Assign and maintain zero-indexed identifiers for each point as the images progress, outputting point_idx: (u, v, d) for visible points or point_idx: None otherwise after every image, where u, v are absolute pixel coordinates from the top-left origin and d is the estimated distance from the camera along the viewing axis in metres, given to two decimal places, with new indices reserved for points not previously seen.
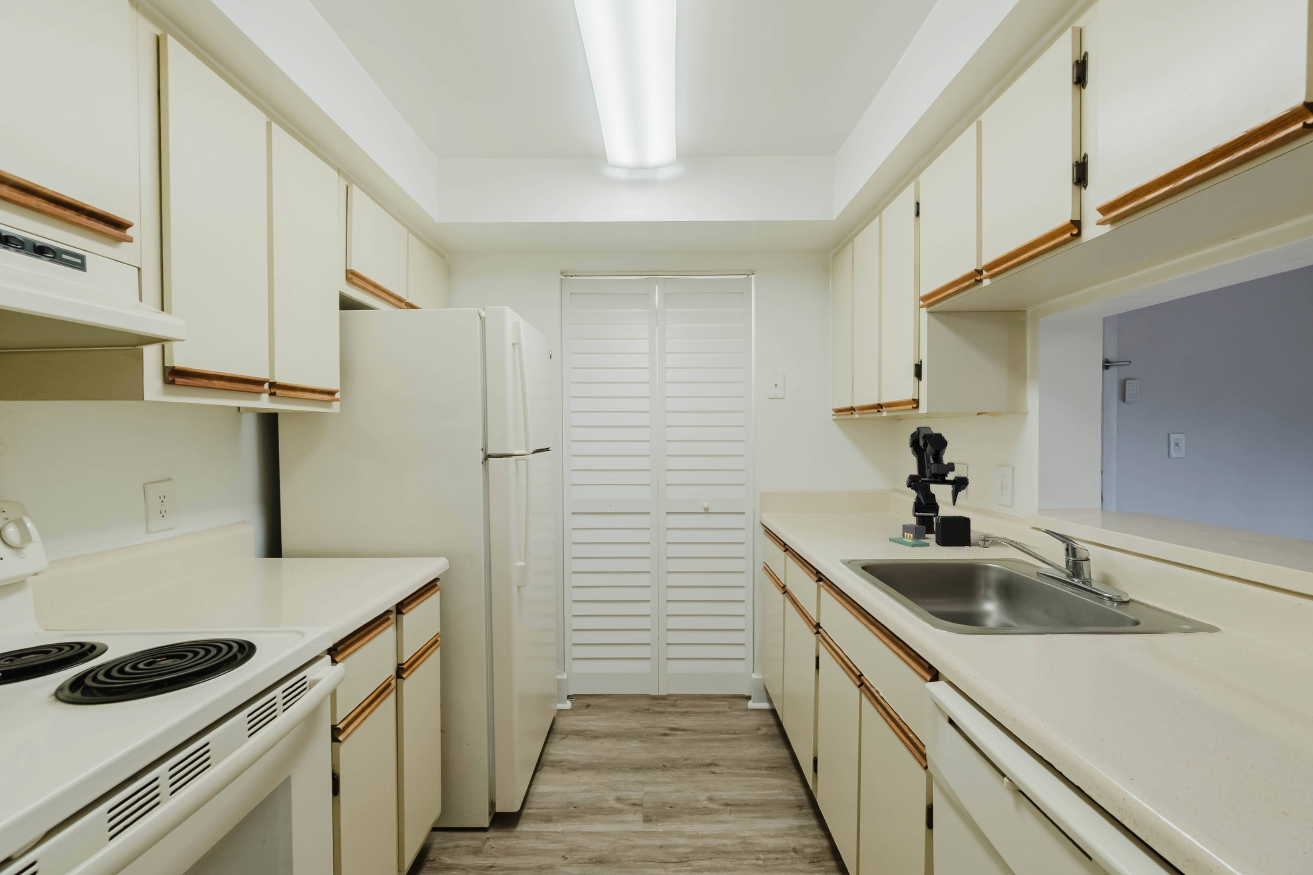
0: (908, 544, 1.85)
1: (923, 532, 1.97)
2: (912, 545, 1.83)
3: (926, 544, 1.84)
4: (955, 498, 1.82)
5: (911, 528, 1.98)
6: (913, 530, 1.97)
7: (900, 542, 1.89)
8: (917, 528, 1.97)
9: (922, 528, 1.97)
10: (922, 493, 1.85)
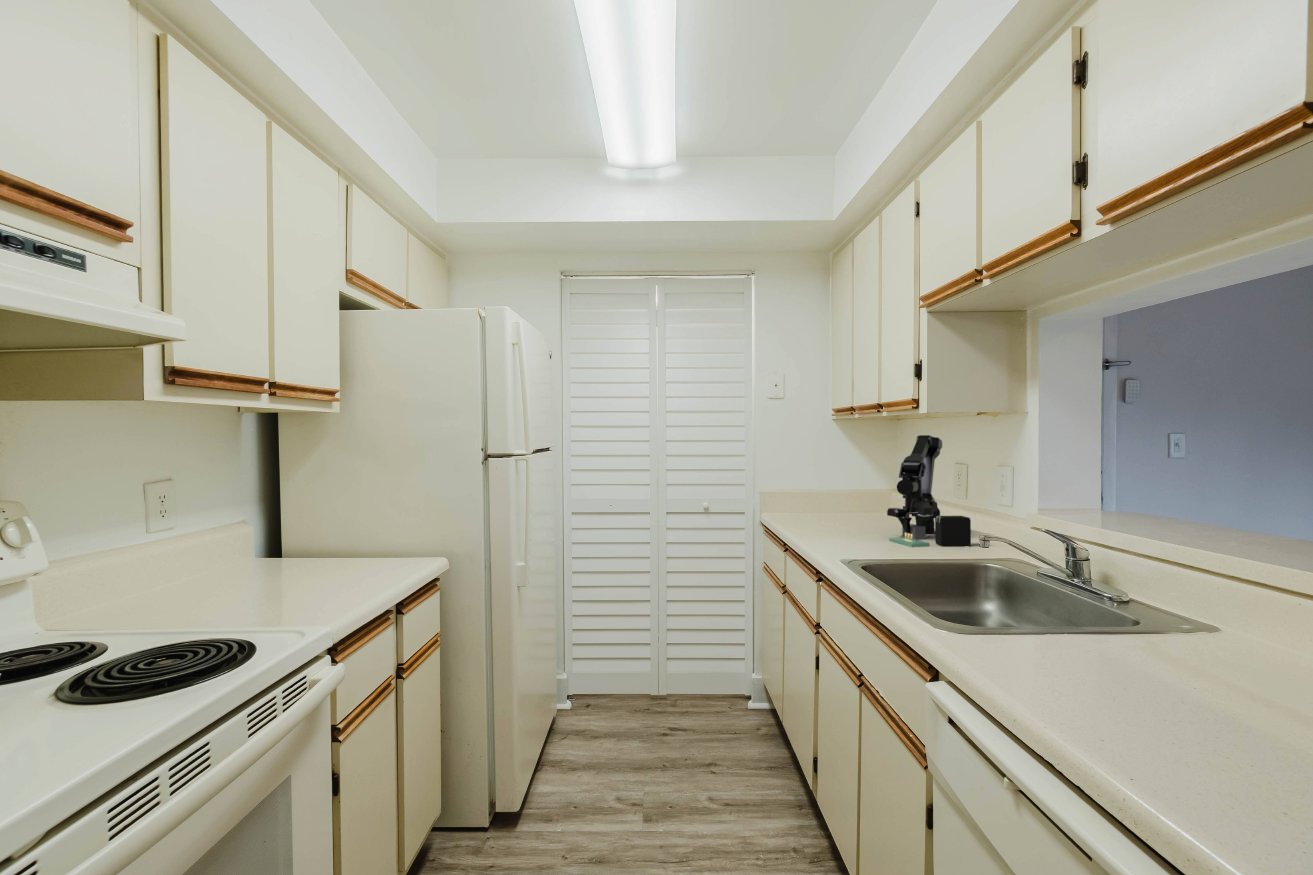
0: (908, 544, 1.85)
1: (923, 532, 1.97)
2: (912, 545, 1.83)
3: (926, 544, 1.84)
4: None
5: (911, 528, 1.98)
6: (913, 530, 1.97)
7: (900, 542, 1.89)
8: (917, 528, 1.97)
9: (922, 528, 1.97)
10: (908, 526, 1.99)
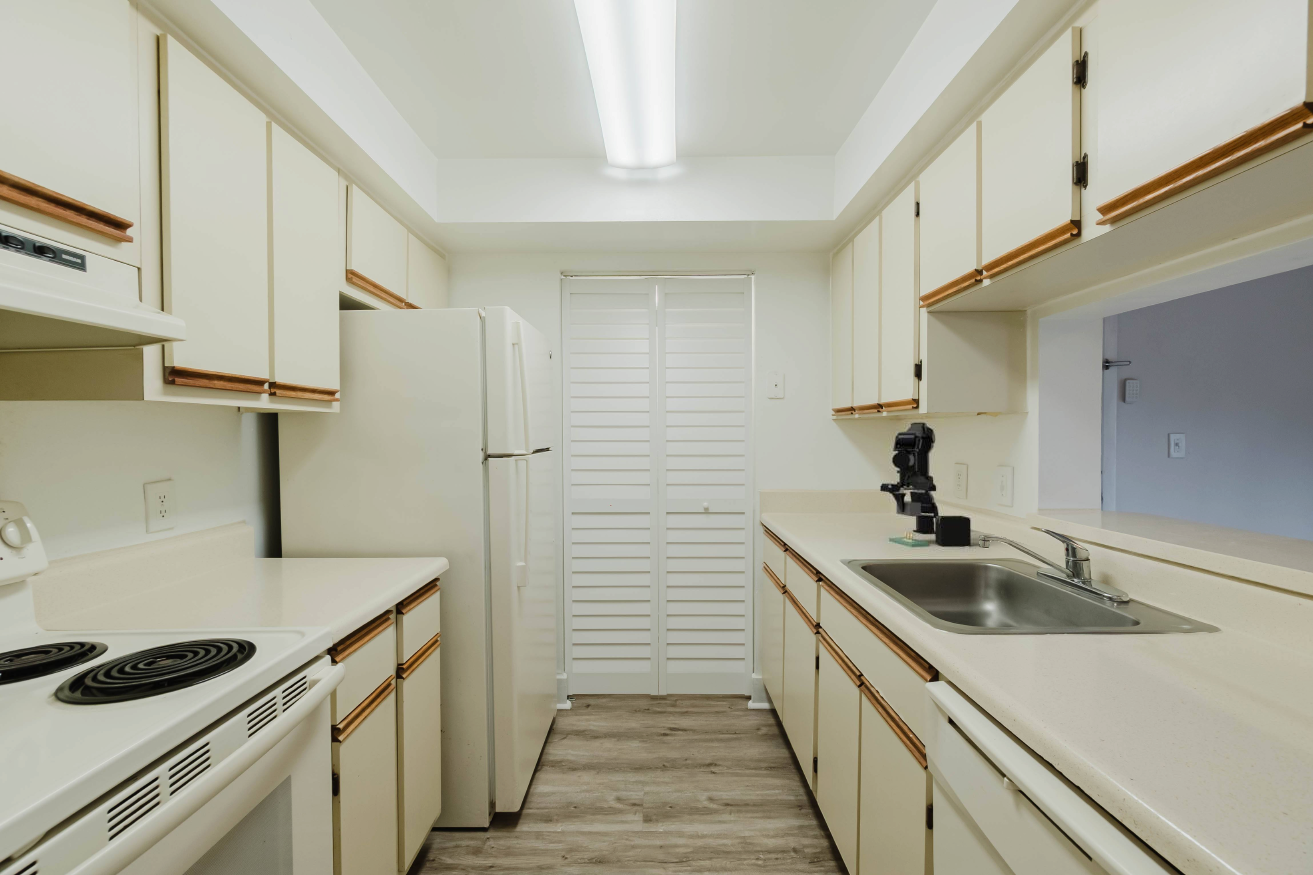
0: (908, 544, 1.85)
1: (918, 508, 1.87)
2: (912, 545, 1.83)
3: (926, 544, 1.84)
4: None
5: (905, 504, 1.88)
6: (908, 506, 1.87)
7: (900, 542, 1.89)
8: (912, 504, 1.86)
9: (917, 504, 1.87)
10: (903, 503, 1.88)
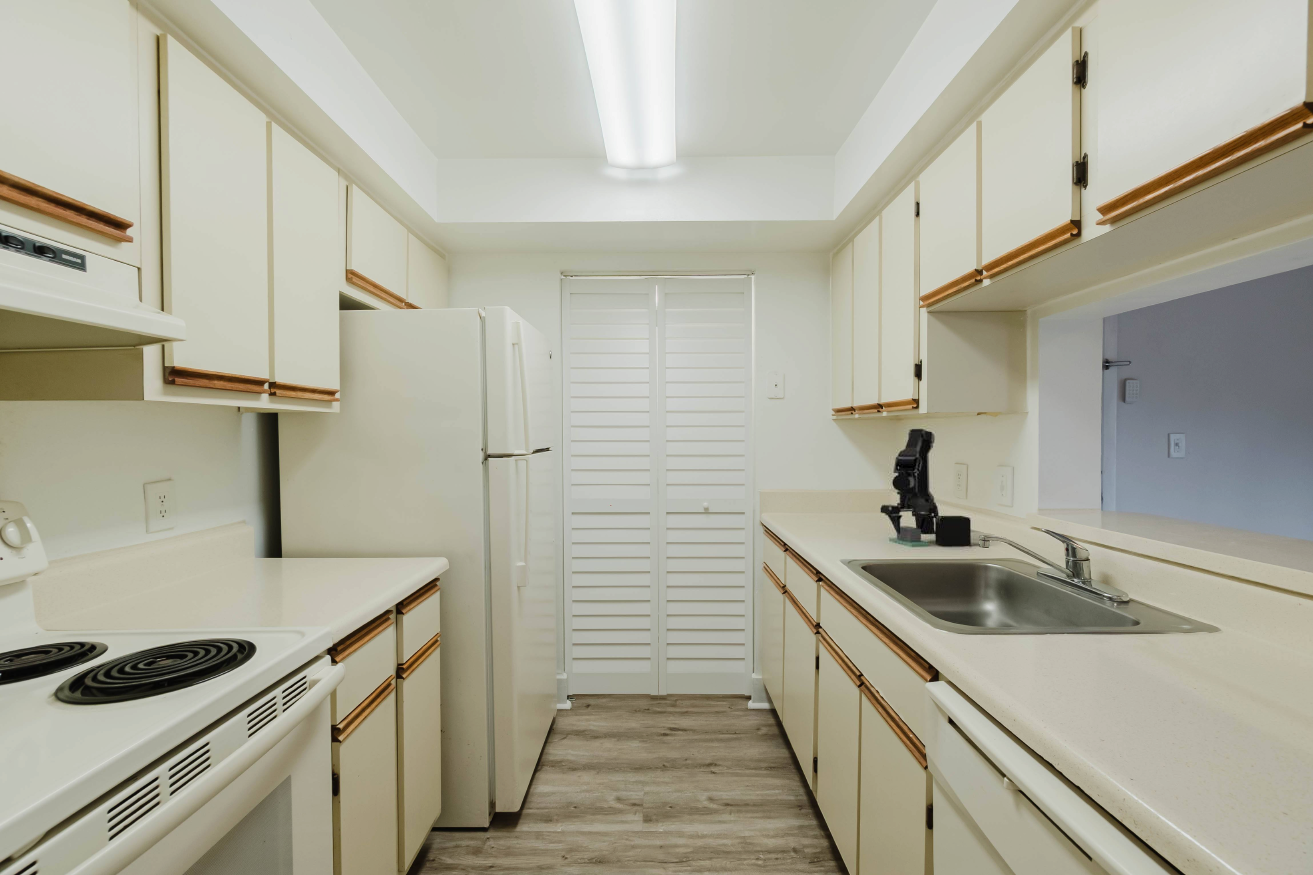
0: (908, 544, 1.85)
1: (918, 534, 1.87)
2: (912, 545, 1.83)
3: (926, 544, 1.84)
4: (921, 527, 1.90)
5: (906, 530, 1.88)
6: (908, 532, 1.87)
7: (900, 542, 1.89)
8: (912, 530, 1.86)
9: (917, 530, 1.86)
10: (898, 524, 1.88)
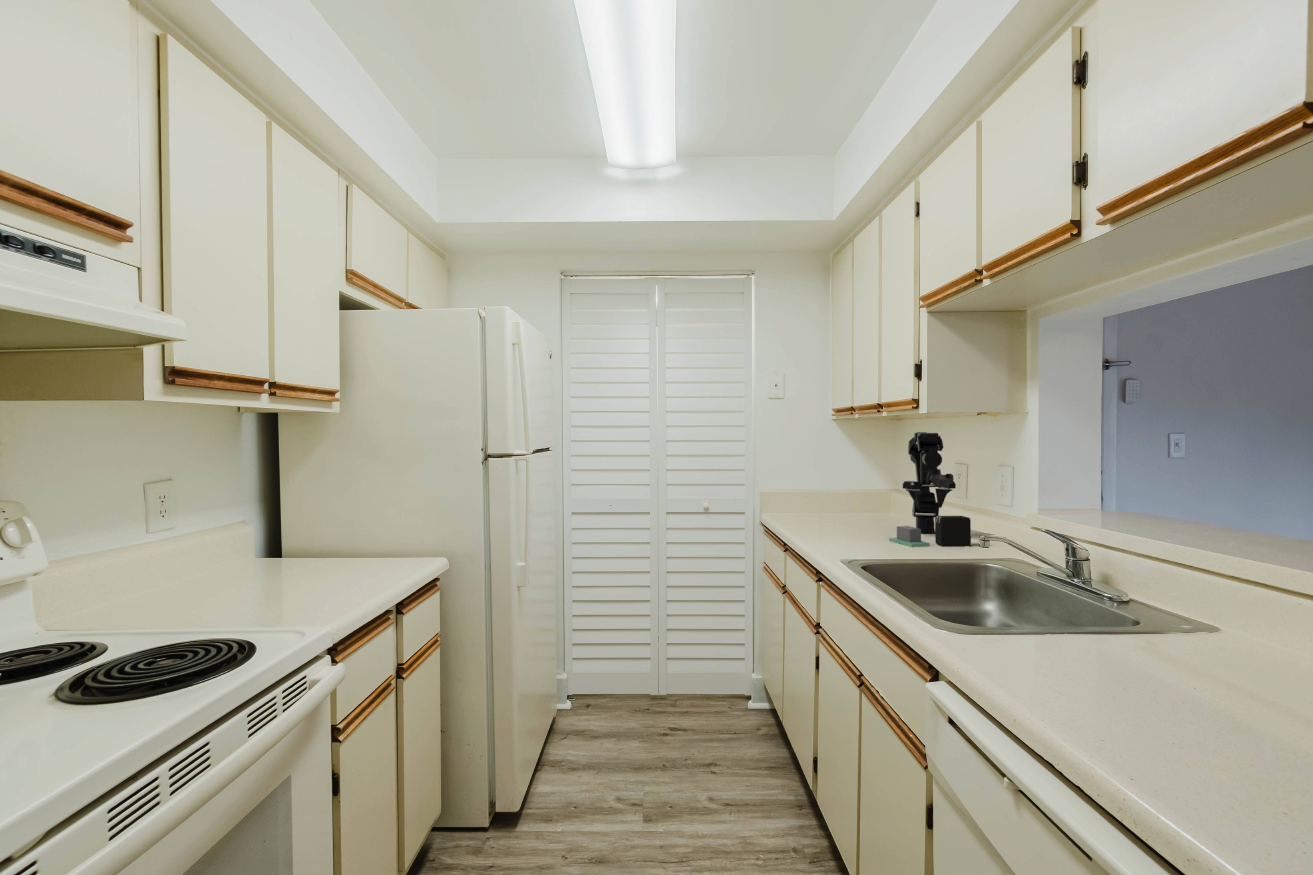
0: (908, 544, 1.85)
1: (918, 534, 1.87)
2: (912, 545, 1.83)
3: (926, 544, 1.84)
4: (942, 502, 2.01)
5: (906, 530, 1.88)
6: (908, 532, 1.87)
7: (900, 542, 1.89)
8: (912, 530, 1.86)
9: (917, 530, 1.86)
10: (919, 499, 1.98)
